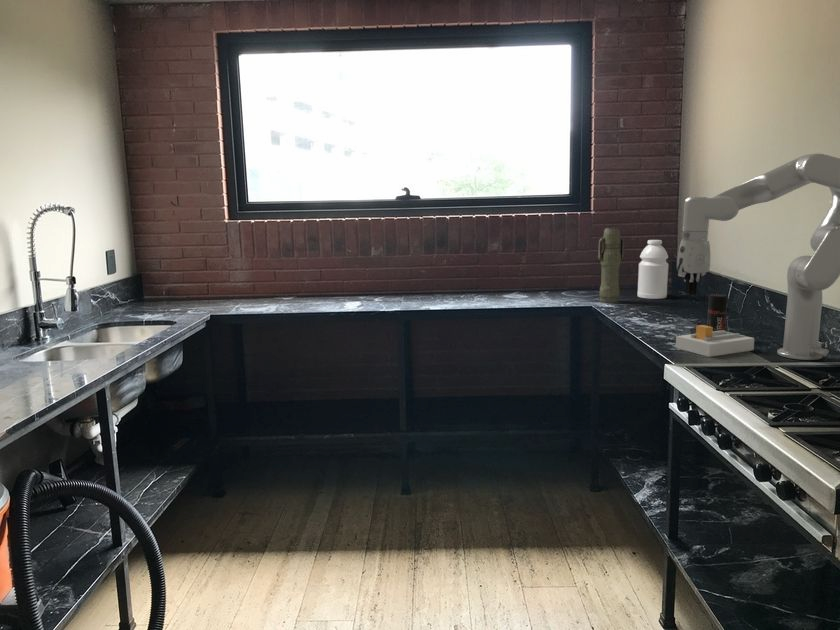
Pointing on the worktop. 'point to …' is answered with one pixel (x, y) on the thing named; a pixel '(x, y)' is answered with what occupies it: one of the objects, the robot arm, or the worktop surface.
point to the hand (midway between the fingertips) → (690, 294)
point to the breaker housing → (715, 343)
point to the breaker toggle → (703, 331)
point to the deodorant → (717, 311)
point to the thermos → (610, 264)
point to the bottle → (653, 271)
